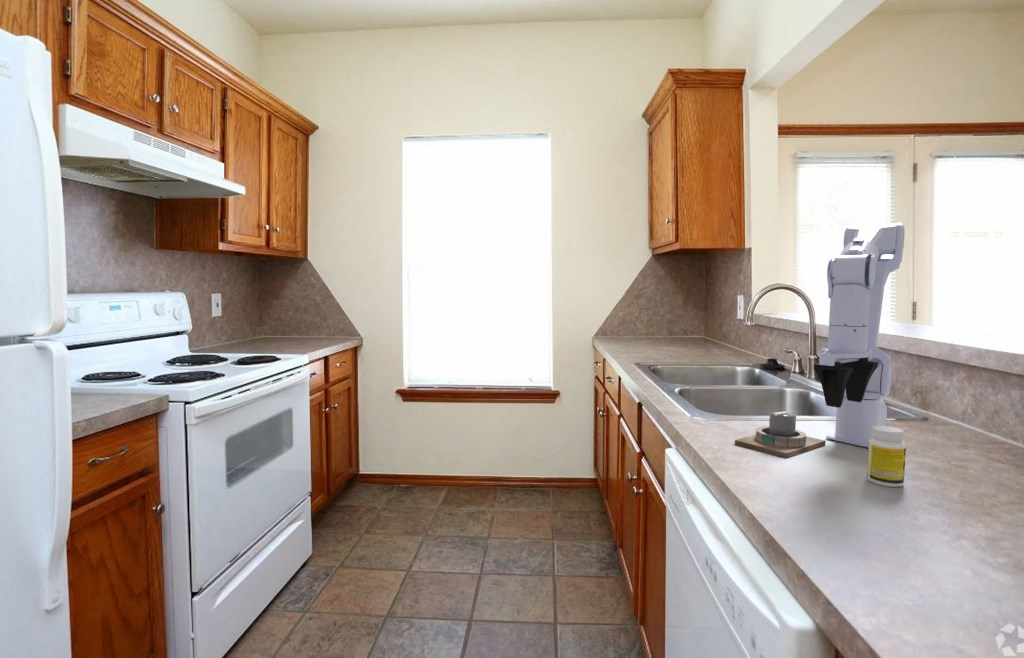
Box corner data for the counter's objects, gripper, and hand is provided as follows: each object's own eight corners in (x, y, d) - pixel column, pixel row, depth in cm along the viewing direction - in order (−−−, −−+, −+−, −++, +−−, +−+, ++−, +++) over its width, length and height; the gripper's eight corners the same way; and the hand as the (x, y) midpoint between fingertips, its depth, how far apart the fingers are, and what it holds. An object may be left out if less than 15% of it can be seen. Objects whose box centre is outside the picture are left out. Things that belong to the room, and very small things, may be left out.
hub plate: (774, 433, 111) (775, 421, 111) (825, 444, 103) (826, 432, 103) (734, 444, 103) (735, 431, 103) (786, 457, 95) (786, 444, 95)
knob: (778, 436, 106) (779, 409, 106) (799, 441, 102) (801, 413, 102) (763, 438, 104) (764, 411, 104) (785, 444, 100) (786, 416, 100)
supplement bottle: (910, 489, 81) (913, 433, 80) (875, 486, 82) (878, 431, 81) (894, 477, 85) (897, 425, 85) (861, 475, 86) (864, 424, 86)
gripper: (843, 322, 100) (839, 395, 101) (802, 325, 92) (799, 404, 93) (886, 325, 94) (882, 401, 95) (847, 328, 86) (843, 412, 87)
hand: (844, 403), depth 93 cm, fingers open, 7 cm apart
